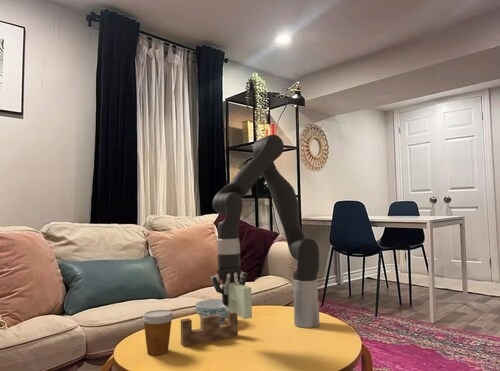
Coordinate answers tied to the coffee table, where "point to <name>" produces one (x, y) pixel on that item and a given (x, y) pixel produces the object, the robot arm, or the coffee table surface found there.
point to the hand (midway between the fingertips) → (230, 304)
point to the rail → (209, 329)
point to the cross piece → (239, 300)
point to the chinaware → (212, 309)
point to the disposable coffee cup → (157, 331)
